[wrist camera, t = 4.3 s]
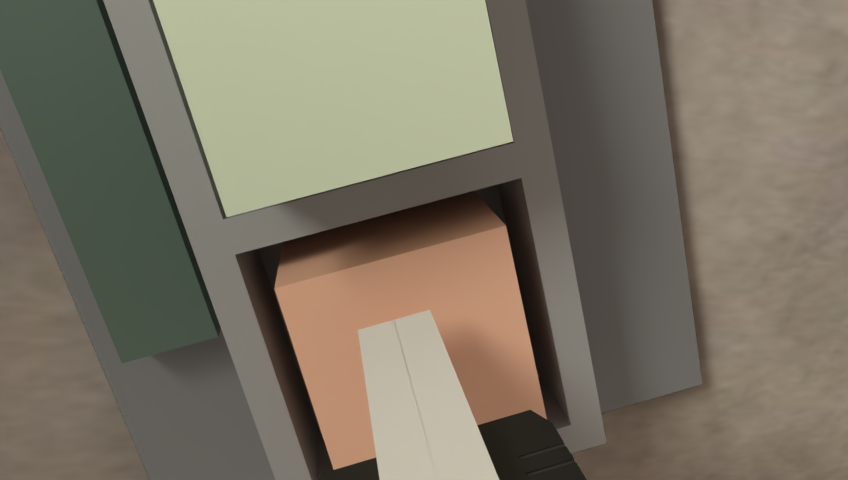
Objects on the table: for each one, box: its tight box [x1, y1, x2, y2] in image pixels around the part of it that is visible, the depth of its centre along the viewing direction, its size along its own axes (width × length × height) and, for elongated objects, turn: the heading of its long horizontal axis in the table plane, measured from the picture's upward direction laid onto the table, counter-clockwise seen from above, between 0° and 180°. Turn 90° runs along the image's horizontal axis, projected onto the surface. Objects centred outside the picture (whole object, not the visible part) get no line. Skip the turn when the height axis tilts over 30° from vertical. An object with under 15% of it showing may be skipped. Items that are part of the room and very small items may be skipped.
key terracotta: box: [274, 191, 547, 470], centre depth 17 cm, size 5×5×4 cm
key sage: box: [153, 0, 513, 217], centre depth 13 cm, size 5×5×4 cm
